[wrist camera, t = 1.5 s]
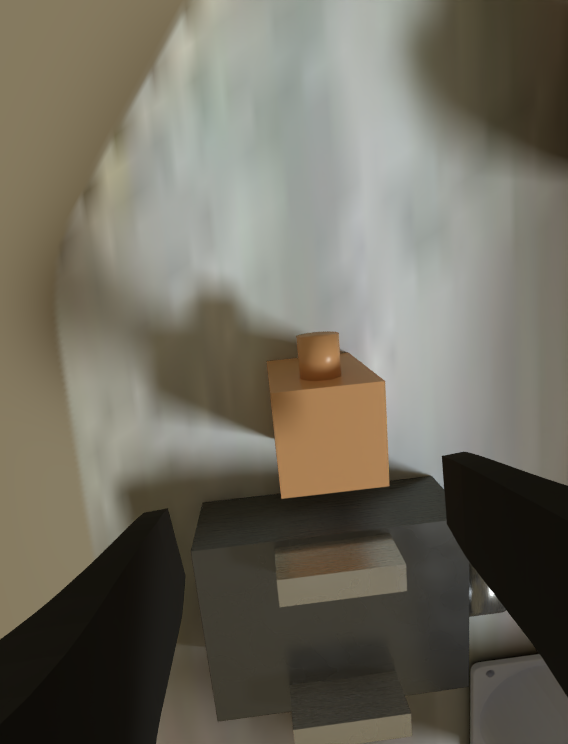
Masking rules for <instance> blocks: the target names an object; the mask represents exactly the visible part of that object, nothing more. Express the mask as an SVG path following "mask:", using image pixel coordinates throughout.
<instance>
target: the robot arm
mask: <svg viewBox="0 0 568 744" xmlns="http://www.w3.org/2000/svg"><path fill="white" fill-rule="evenodd" d="M442 464H443V478H444V491H445V505H446V519H447V525H448V527H449V529H450V531H451V532H452V534H453V536H454V538H455V539H456V541H457V543H458V545H459V546H460V548H461V550H462V551H463V553H464V555H465V556H466V558H467V559H468V561H469V562H470V563H471V565H472V566H473V567H474V569H475V570H476V571H477V573H478V574H479V575H480V576H481V578H482V579H483V580H484V582H485V583H486V584H487V586H488V587H489V588H490V589H491V591H492V592H493V593H494V595H495V596H496V597H497V598H498V600H499V601H500V602H501V604H502V605H503V606H504V608H505V609H506V610H507V611H508V613H509V614H510V615H511V617H512V618H513V619H514V620H515V622H516V623H517V624H518V626H519V627H520V628H521V629H522V631H523V632H524V633H525V635H526V636H527V637H528V639H529V640H530V641H531V643H532V644H533V646H534V647H535V648H536V650H537V651H538V653H539V654H536V655H528V656H521V657H514V658H506V659H499V660H492V661H484V662H478V663H475V664H474V665H473V666H472V667H471V673H470V744H568V486H567V485H564V484H560V483H557V482H554V481H551V480H548V479H545V478H542V477H539V476H536V475H533V474H530V473H528V472H525V471H522V470H519V469H516V468H513V467H511V466H508V465H505V464H502V463H499V462H497V461H494V460H491V459H488V458H485V457H482V456H479V455H475V454H472V453H468V452H460V453H455V454H450V455H445V456H442ZM184 587H185V573H184V569H183V565H182V561H181V557H180V554H179V550H178V546H177V542H176V538H175V535H174V531H173V527H172V523H171V519H170V515H169V512H168V508H167V509H162V510H157V511H152V512H146V513H143V514H142V515H141V516H140V517H138V518H137V519H136V520H135V521H134V522H133V523H132V524H131V525H130V526H129V527H128V528H127V529H126V530H125V531H124V532H123V533H122V534H121V535H120V536H119V537H118V538H117V539H116V540H115V541H114V542H113V543H112V544H111V545H110V546H109V547H108V548H107V549H106V550H105V551H104V552H103V553H102V554H101V555H100V556H99V557H97V558H96V559H95V560H94V561H93V562H92V563H91V564H90V565H89V566H88V567H87V568H86V569H85V570H84V571H83V572H82V573H81V574H79V575H78V576H77V577H76V578H75V579H74V580H73V581H72V582H70V583H69V584H68V585H67V586H66V587H65V588H64V589H63V590H62V591H61V592H60V593H58V594H57V595H56V596H55V597H54V598H53V599H52V600H50V601H49V602H48V603H47V604H45V605H44V606H43V607H42V608H41V609H39V610H38V611H37V612H36V613H34V614H33V615H32V616H31V617H29V618H28V619H27V620H25V621H24V622H23V623H22V624H20V625H19V626H18V627H16V628H15V629H14V630H12V631H11V632H10V633H9V634H7V635H6V636H4V637H3V638H2V639H1V640H0V744H156V739H157V733H158V728H159V722H160V716H161V711H162V707H163V702H164V698H165V693H166V688H167V684H168V679H169V675H170V670H171V665H172V661H173V656H174V652H175V647H176V642H177V637H178V633H179V628H180V623H181V618H182V610H183V600H184Z"/></svg>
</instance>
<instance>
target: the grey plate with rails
mask: <svg viewBox="0 0 568 744" xmlns="http://www.w3.org/2000/svg"><path fill="white" fill-rule="evenodd" d="M191 556H192V562H193V568H194V574H195V581H196V587H197V593H198V600H199V606H200V612H201V619H202V625H203V631H204V638H205V644H206V650H207V656H208V663H209V669H210V675H211V682H212V688H213V694H214V701H215V707H216V713H217V720H218V721H225V720H233V719H240V718H247V717H254V716H261V715H269V714H276V713H283V712H290V711H292V722H293V733H294V742H295V744H359V743H366V742H373V741H380V740H387V739H394V738H401V737H408V736H412V725H411V712H410V709H409V706H408V703H407V701H406V698H405V695H413V694H420V693H427V692H434V691H442V690H449V689H456V688H463V687H469V617H471V616H479V615H487V614H494V613H502V612H504V611H506V609H505V608H504V606H503V605H502V604H501V602H500V601H499V600H498V598H497V597H496V596H495V595H494V593H493V592H492V591H491V589H490V588H489V587H488V586H487V584H486V583H485V582H484V580H483V579H482V578H481V576H480V575H479V574H478V573H477V571H476V570H475V569H474V567H473V566H472V565H471V563H470V562H469V561H468V559H467V558H466V556H465V555H464V553H463V551H462V550H461V548H460V546H459V545H458V543H457V541H456V539H455V538H454V536H453V534H452V532H451V531H450V529H449V527H448V525H447V519H446V505H445V491H444V489H443V488H442V487H441V486H440V485H439V484H438V482H437V481H436V480H435V479H434V478H433V477H432V476H429V477H420V478H411V479H403V480H394V481H389V486H387V487H379V488H370V489H361V490H353V491H344V492H336V493H327V494H319V495H310V496H301V497H293V498H284V499H281V494H274V495H265V496H257V497H248V498H240V499H231V500H223V501H214V502H205V503H202V508H201V512H200V516H199V520H198V524H197V528H196V533H195V537H194V541H193V545H192V549H191Z"/></svg>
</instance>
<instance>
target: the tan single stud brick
mask: <svg viewBox="0 0 568 744" xmlns="http://www.w3.org/2000/svg"><path fill="white" fill-rule="evenodd" d="M296 338H297V350H298V358H292V359H282V360H273V361H267V370H268V380H269V389H270V399H271V409H272V419H273V428H274V438H275V447H276V456H277V464H278V473H279V482H280V491H281V499H284V498H293V497H301V496H310V495H319V494H327V493H336V492H344V491H353V490H361V489H370V488H379V487H387V486H389V463H388V440H387V416H386V392H385V381H384V380H383V379H382V378H380V377H379V376H378V375H377V374H375V373H374V372H373V371H371V370H370V369H369V368H368V367H366V366H365V365H364V364H362V363H361V362H360V361H359V360H357V359H356V358H355V357H353V356H352V355H351V354H350V353H341V354H340V347H339V333H338V332H313V333H306V334H301V335H298V336H296Z"/></svg>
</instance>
